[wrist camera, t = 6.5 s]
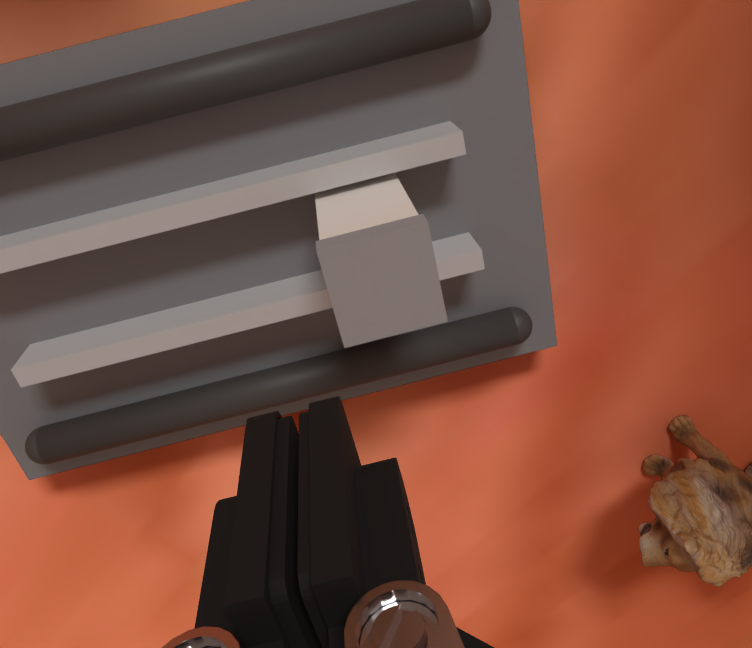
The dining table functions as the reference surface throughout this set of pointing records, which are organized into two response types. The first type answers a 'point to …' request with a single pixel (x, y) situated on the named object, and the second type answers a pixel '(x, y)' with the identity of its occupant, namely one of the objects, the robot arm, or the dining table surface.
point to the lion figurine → (698, 511)
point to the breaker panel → (251, 215)
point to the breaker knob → (377, 261)
